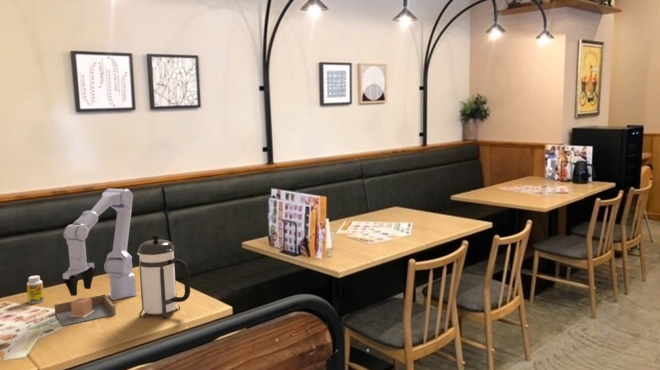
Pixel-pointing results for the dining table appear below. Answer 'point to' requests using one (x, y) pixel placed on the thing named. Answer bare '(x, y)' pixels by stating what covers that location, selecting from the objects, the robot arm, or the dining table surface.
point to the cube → (81, 306)
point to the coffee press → (160, 277)
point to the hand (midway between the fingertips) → (80, 292)
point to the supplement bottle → (35, 289)
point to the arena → (99, 310)
